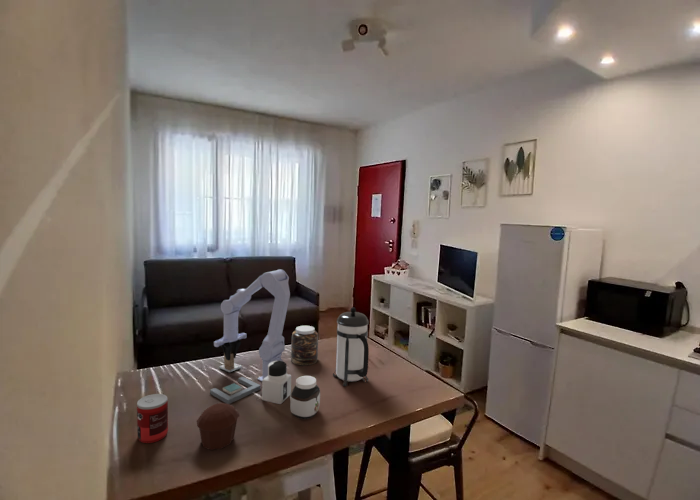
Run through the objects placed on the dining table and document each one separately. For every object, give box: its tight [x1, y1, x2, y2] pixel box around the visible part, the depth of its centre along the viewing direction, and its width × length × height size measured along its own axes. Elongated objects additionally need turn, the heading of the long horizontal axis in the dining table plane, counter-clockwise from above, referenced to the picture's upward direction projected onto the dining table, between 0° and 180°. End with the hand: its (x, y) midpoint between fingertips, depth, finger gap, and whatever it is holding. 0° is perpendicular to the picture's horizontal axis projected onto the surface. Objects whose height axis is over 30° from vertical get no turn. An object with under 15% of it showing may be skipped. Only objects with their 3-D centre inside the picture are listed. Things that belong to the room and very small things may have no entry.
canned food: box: [136, 393, 169, 444], centre depth 103 cm, size 8×8×11 cm
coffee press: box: [332, 306, 370, 388], centre depth 142 cm, size 17×16×30 cm
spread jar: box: [289, 375, 321, 420], centre depth 119 cm, size 12×11×12 cm
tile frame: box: [209, 376, 262, 405], centre depth 130 cm, size 11×14×2 cm
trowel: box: [219, 352, 243, 373], centre depth 148 cm, size 6×7×6 cm
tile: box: [222, 382, 243, 396], centre depth 132 cm, size 5×5×2 cm
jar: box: [290, 325, 319, 366], centre depth 160 cm, size 12×12×15 cm
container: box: [261, 360, 292, 405], centre depth 127 cm, size 8×8×13 cm
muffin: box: [196, 402, 240, 451], centre depth 102 cm, size 12×11×10 cm
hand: (230, 358), depth 148 cm, fingers closed on trowel
